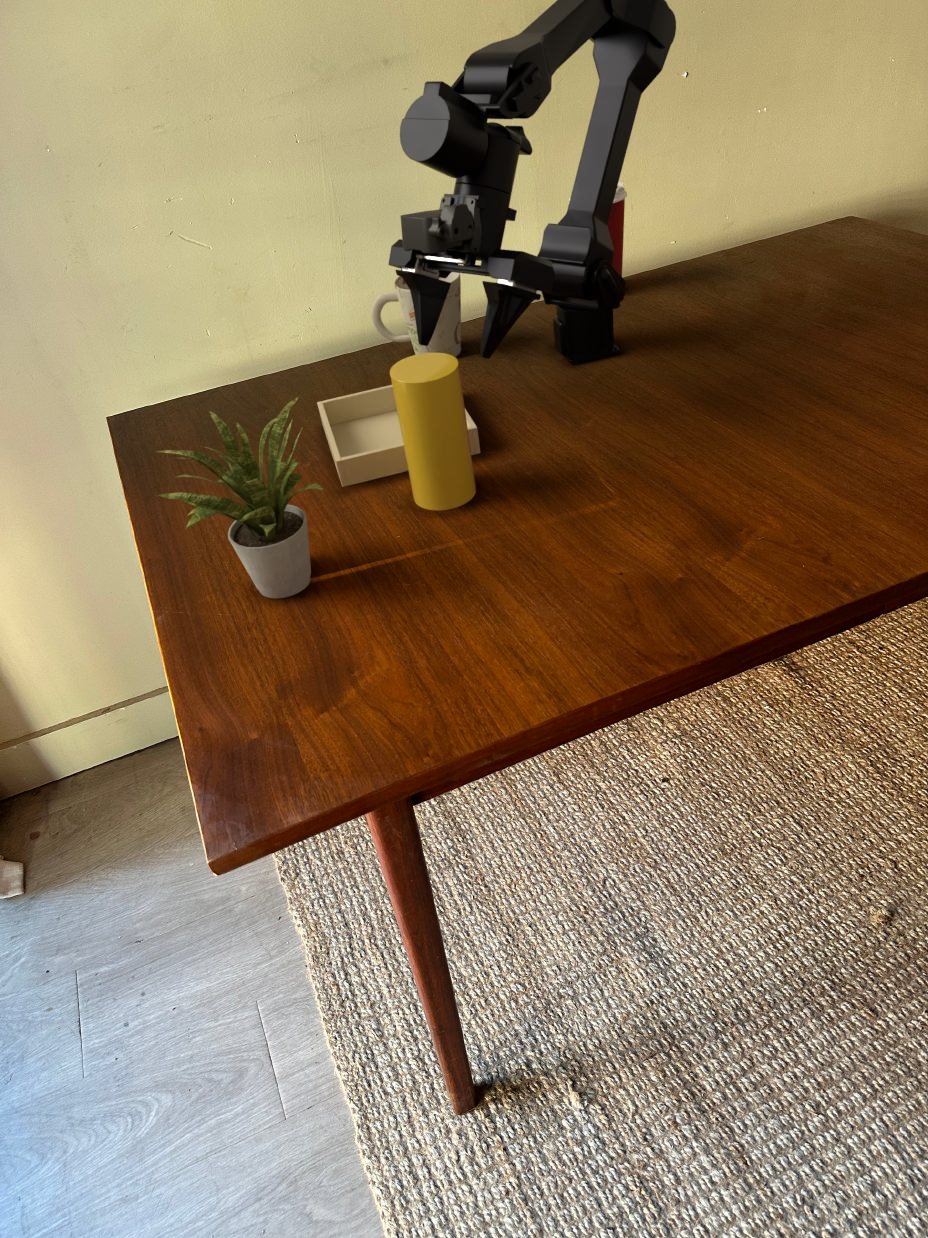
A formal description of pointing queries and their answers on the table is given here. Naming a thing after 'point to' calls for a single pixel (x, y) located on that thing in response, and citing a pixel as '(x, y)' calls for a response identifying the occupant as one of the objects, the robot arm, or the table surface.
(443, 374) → the yellow cylinder
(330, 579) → the table surface
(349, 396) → the white rectangular tray
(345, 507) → the table surface
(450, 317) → the mug
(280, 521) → the house plant
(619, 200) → the paper cup
